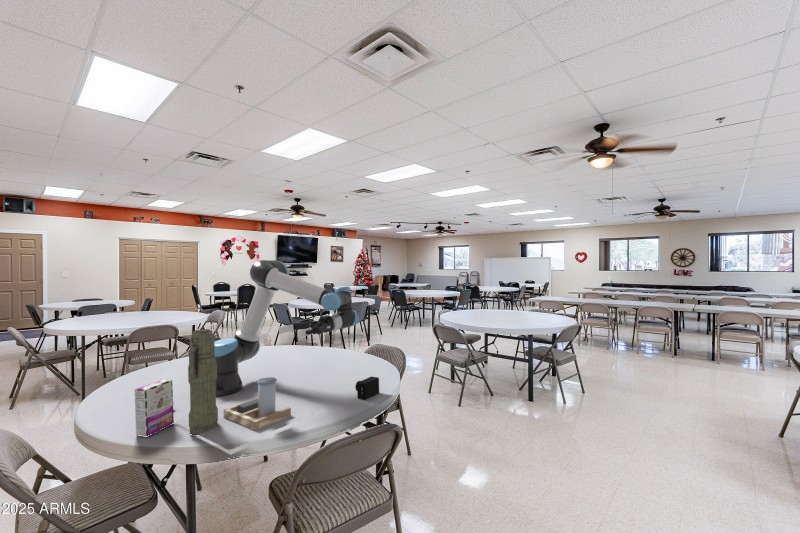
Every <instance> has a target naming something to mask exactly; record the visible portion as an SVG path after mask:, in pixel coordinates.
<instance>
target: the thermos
mask: <svg viewBox="0 0 800 533" xmlns="http://www.w3.org/2000/svg"><path fill="white" fill-rule="evenodd" d="M214 342H215V336H214V332H213V331H212V330H211V329H210V328H209V329H207V328H204V329H196V330H194V331H192V333H191V335H190V338H189V351H188V365H187V377H188V378H187V380H188V381H187V382H188V384H189V396H190V397H189V400H190V401H189V404H190V407H189V408H190V410H189V412H188V427H189V432H190V433H189V435H190V434H192V435H200V433H204V432H208V431H210V430H212V429H215V428H216V427H217V426H218V421H219V411H218V410H219V408H218V406H217V396H216V379H217V363H216V360H215V355H214V351H215V344H214ZM192 435H191V436H192Z"/></svg>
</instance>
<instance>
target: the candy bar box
mask: <svg viewBox="0 0 800 533" xmlns="http://www.w3.org/2000/svg"><path fill="white" fill-rule="evenodd" d="M134 406H135V431H136V432H135V435H142V436H148V435H150V434H153V433H155V432H157V431H159V430H160V429H162V428H164V427H166V426H168V425H170V424H172V423H175V422H174V420H175V419H174V392H173V379H164V378H163V379H160V380H157V381H154V382H151V383H148V384H146V385H143V386H140V387H138V388H136V389H134ZM172 425H173V424H172ZM170 426H171V425H170ZM159 432H160V431H159ZM157 433H158V432H157ZM155 434H156V433H155Z"/></svg>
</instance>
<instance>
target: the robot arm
mask: <svg viewBox="0 0 800 533" xmlns="http://www.w3.org/2000/svg"><path fill="white" fill-rule="evenodd" d="M289 271H290V270H289V269H288V266H287V265H286V264H285V262H283V261H281V260H280V261H279V260H278V259H277V260H276V259H275V260H274V259H273V260H270V259H269V260H267V259H266V260H265V259H261V260H258V261H255V262H254V263H253V264H252V265H251V267H250V269H249V276H250V279H251V281H253V282H254V283H255V284H256V286H257V287H256V289H255V293H254V295H253V297H252V300H251V303H250V305H249V308H248V310H247V312H246V316H245V318H244V320H243V323H242V326H241V328H240V329H239V330H237V331H236V332H235V334H234V337H227V338H222V339H218V340H214V344H215V351H214V355H215V360H216V363H217V379H216V397H223V396H228V395H232V394H235V393H238V392H239V391H241V390H242V389H243V382H242V379H241V377H240V374H239V364H240V363H243V362H245V361H248V360H250V359H252V358H254V357H255V356H256V355H257V354H258V353H259V351H260V348H261V347H260V346H261V344H260V335H259V332H260V330H261V327H262V325H263V323H264V320H265V318H266V315H267V312H268V311H269V307H270V304H271V302H272V300H273V297H274V295H275V293H277V292H279V291H282V292H285V293H288V294H290V295H293V296H295V297H298V298H300V299H303V300H306V301H309V302H312V303H313V304H316V305H319V306H321V307H323V309H324V310H326V311H331V312H333V311H336V313H332V314H327V315H322V316H320V317H319V319H318V320H309V321H302V322H291V323H290V324H288V325H283V326H278V333H279V334H284V333H289V332H291V333H292V332H294V331H296V333H297V336H296V337H297V338H304V337H306V336H311V335H319V336H320V334H323V333H324V334H326V333H330V332H337V330H343V329H347V328H351V327H355V326H356V325H358V323H359V322H360V317H359V314H358V312H357V311H356V310H355V309H354V307H353V300H352V292H351V287H350V286H339V287H335V288H334V291H332V290H329V289H327V288H323V287H321V286H319V285H315V284H314V283H311V282H307V281H305V280H303V279H300V278H298V277H294V276H292V275H290V272H289Z"/></svg>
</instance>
